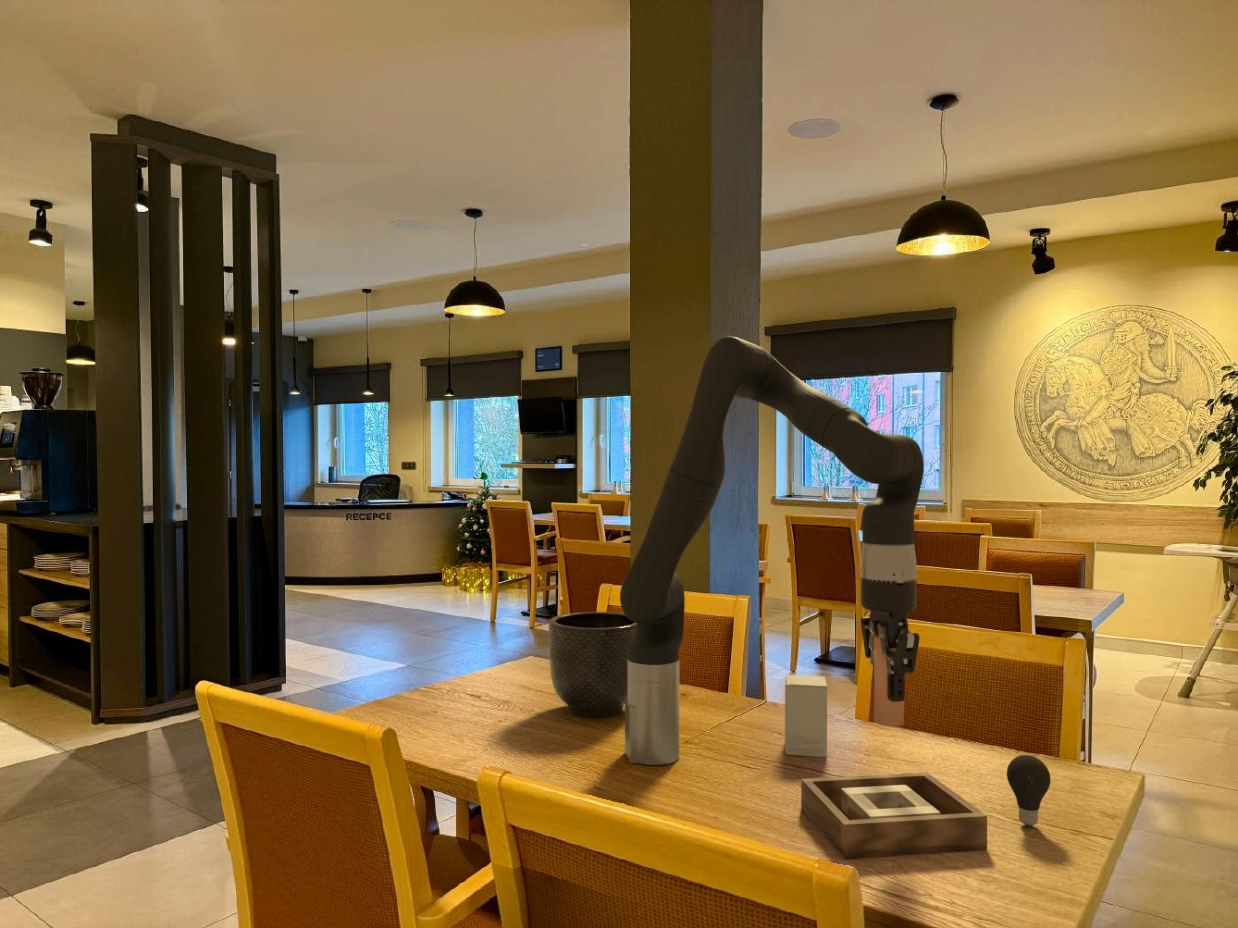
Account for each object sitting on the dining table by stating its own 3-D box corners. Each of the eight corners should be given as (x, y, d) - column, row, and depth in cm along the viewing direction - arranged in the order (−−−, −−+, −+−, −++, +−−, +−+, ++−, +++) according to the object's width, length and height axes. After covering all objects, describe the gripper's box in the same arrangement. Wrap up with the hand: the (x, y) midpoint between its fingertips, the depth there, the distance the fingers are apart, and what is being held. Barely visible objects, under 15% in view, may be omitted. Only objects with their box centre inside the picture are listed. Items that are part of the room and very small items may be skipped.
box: (844, 858, 109) (844, 824, 109) (801, 808, 125) (801, 778, 125) (987, 849, 111) (987, 815, 111) (927, 801, 127) (927, 772, 127)
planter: (660, 706, 178) (660, 617, 178) (609, 731, 161) (609, 632, 161) (584, 692, 188) (584, 608, 188) (529, 714, 172) (529, 622, 172)
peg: (881, 726, 116) (881, 640, 116) (869, 718, 120) (869, 634, 120) (908, 725, 116) (909, 639, 116) (895, 717, 120) (895, 634, 120)
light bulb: (998, 818, 121) (998, 749, 121) (1035, 817, 122) (1035, 748, 122) (1020, 835, 116) (1020, 763, 116) (1059, 833, 116) (1059, 762, 116)
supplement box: (827, 758, 146) (827, 686, 146) (784, 755, 148) (784, 683, 148) (825, 744, 154) (826, 675, 154) (784, 741, 155) (784, 673, 155)
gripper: (842, 569, 125) (843, 684, 125) (885, 582, 111) (886, 712, 110) (890, 568, 126) (890, 682, 126) (938, 581, 112) (939, 709, 112)
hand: (888, 695), depth 118 cm, fingers closed on peg, 4 cm apart
